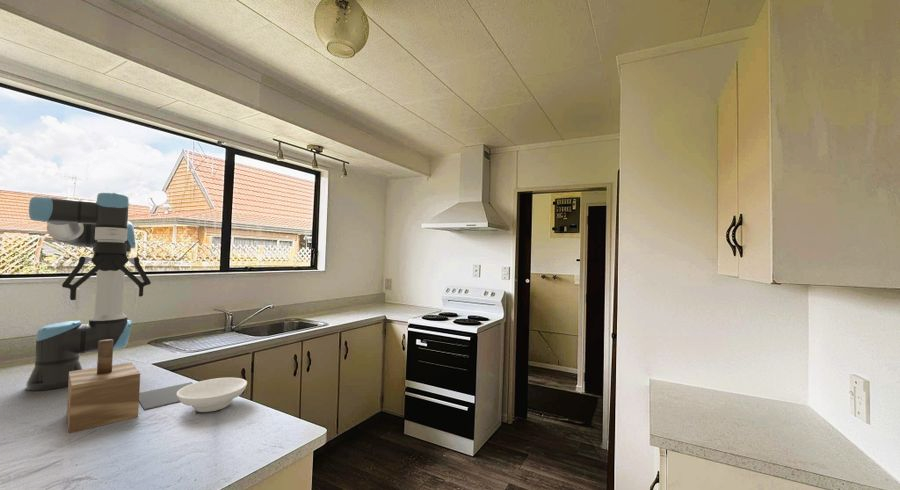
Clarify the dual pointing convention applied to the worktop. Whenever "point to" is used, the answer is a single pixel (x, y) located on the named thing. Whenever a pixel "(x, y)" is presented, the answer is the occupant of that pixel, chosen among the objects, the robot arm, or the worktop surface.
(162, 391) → the mat
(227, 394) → the bowl
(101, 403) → the wooden block with knob
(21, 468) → the worktop surface
